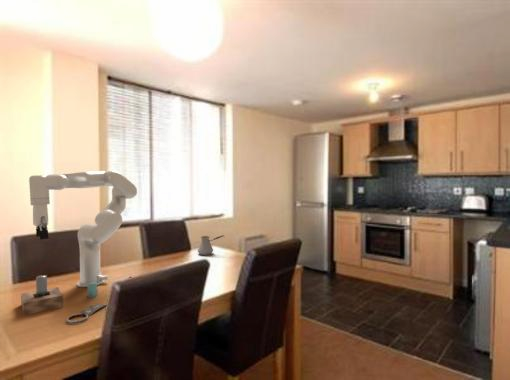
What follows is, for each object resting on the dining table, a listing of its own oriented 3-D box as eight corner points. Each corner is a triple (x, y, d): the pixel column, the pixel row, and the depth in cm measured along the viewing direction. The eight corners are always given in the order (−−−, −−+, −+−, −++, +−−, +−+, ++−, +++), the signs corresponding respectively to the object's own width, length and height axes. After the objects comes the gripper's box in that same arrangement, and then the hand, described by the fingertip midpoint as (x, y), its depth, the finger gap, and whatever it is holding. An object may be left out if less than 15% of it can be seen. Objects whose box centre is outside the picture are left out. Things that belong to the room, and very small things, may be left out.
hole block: (58, 297, 153) (57, 287, 153) (63, 306, 142) (62, 295, 142) (21, 304, 144) (21, 293, 144) (23, 315, 133) (23, 303, 133)
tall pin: (49, 303, 146) (48, 274, 145) (45, 307, 142) (44, 277, 141) (39, 304, 145) (38, 275, 144) (34, 307, 141) (34, 278, 141)
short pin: (98, 294, 157) (97, 282, 157) (95, 297, 153) (95, 284, 153) (89, 294, 157) (89, 282, 157) (86, 297, 153) (86, 285, 153)
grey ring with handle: (110, 307, 143) (110, 302, 143) (79, 326, 124) (79, 321, 124) (94, 305, 145) (94, 301, 145) (61, 324, 126) (61, 319, 126)
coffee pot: (194, 255, 237) (194, 234, 237) (202, 251, 248) (202, 232, 247) (221, 257, 230) (221, 236, 229) (227, 254, 241) (227, 233, 240)
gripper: (27, 201, 157) (29, 236, 158) (33, 203, 144) (35, 241, 145) (45, 199, 162) (47, 234, 163) (53, 202, 149) (55, 238, 150)
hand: (42, 237), depth 154 cm, fingers open, 9 cm apart
